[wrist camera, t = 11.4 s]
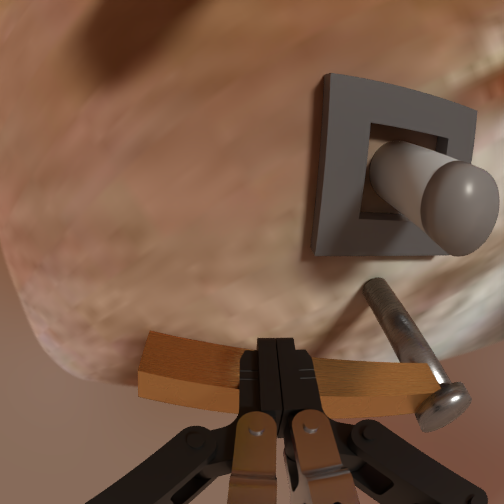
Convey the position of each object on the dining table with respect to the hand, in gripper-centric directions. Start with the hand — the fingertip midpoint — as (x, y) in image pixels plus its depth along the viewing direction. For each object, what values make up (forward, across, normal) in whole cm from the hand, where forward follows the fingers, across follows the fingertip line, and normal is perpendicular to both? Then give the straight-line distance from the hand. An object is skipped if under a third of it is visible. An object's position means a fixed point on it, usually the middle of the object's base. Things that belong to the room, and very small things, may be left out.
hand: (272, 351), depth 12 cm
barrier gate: (+11, -3, +3) cm, 12 cm away
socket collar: (+12, -10, -6) cm, 17 cm away
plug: (+12, -10, -6) cm, 17 cm away
